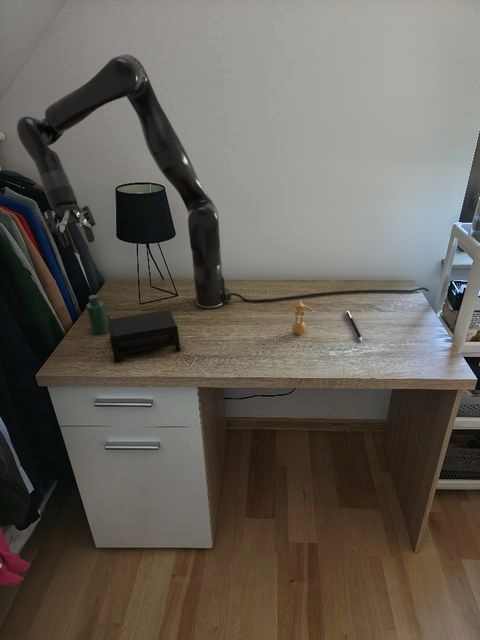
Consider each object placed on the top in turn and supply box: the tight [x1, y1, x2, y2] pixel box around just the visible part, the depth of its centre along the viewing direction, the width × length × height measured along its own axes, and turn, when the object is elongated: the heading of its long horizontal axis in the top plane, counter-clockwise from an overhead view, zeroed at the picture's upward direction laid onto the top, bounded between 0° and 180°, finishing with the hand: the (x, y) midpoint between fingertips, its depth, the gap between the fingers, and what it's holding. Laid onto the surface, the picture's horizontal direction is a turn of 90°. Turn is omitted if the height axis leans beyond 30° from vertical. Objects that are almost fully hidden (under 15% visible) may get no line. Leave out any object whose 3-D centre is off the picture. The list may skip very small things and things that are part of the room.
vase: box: [86, 294, 109, 335], centre depth 144 cm, size 5×5×12 cm
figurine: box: [284, 299, 315, 335], centre depth 140 cm, size 8×6×12 cm
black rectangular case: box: [106, 309, 181, 363], centre depth 137 cm, size 18×13×8 cm
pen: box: [346, 310, 363, 342], centre depth 146 cm, size 1×19×1 cm, turn 4°
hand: (79, 243), depth 142 cm, fingers open, 8 cm apart
